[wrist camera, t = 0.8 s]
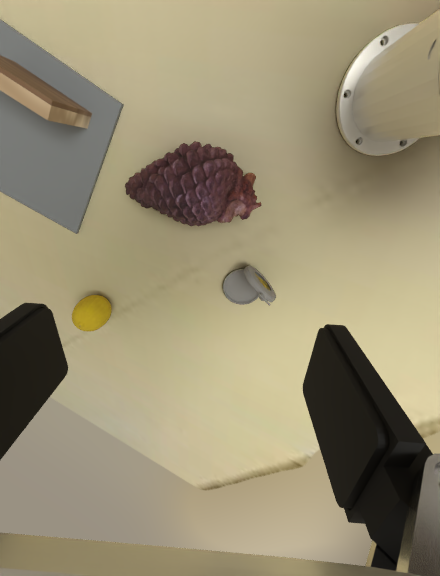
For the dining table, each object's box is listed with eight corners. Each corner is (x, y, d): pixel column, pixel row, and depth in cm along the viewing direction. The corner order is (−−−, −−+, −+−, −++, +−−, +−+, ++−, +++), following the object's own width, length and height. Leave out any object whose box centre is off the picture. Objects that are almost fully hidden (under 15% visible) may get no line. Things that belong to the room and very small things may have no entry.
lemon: (113, 286, 45) (90, 310, 38) (121, 312, 47) (101, 339, 40) (84, 288, 45) (56, 312, 38) (94, 314, 48) (69, 340, 41)
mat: (-3, 17, 29) (-7, 15, 29) (123, 104, 32) (121, 104, 32) (-25, 175, 38) (-28, 175, 37) (78, 232, 41) (76, 233, 40)
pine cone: (141, 215, 39) (113, 231, 30) (134, 141, 34) (99, 134, 25) (255, 221, 38) (261, 240, 29) (263, 147, 34) (273, 142, 25)
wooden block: (14, 61, 31) (-52, 32, 24) (92, 113, 33) (52, 100, 26) (11, 79, 31) (-54, 55, 24) (87, 128, 33) (47, 120, 26)
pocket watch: (219, 297, 45) (216, 331, 36) (230, 253, 41) (228, 280, 32) (264, 306, 45) (271, 342, 36) (278, 264, 41) (290, 293, 32)
